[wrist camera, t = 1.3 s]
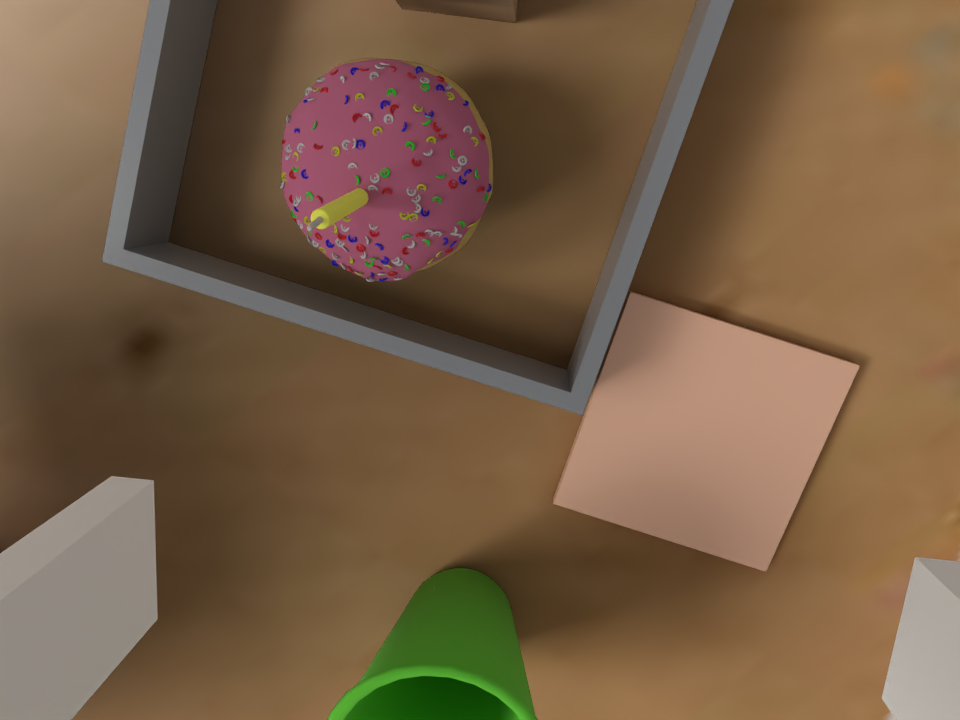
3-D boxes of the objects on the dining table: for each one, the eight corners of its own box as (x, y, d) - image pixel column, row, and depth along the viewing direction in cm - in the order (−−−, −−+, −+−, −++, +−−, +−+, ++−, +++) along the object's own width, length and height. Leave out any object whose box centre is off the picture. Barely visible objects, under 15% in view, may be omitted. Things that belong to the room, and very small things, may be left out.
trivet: (553, 498, 37) (553, 503, 36) (629, 290, 34) (630, 292, 34) (762, 565, 37) (765, 571, 36) (854, 362, 34) (859, 365, 34)
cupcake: (446, 297, 35) (403, 353, 23) (284, 214, 35) (159, 230, 23) (530, 127, 33) (529, 97, 21) (359, 37, 33) (263, -43, 21)
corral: (149, 253, 36) (101, 261, 32) (249, -252, 30) (207, -316, 27) (577, 390, 36) (582, 415, 32) (749, -90, 30) (781, -131, 27)
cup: (456, 496, 37) (425, 620, 27) (584, 611, 38) (604, 776, 28) (342, 608, 39) (270, 766, 29) (466, 715, 40) (442, 906, 30)
